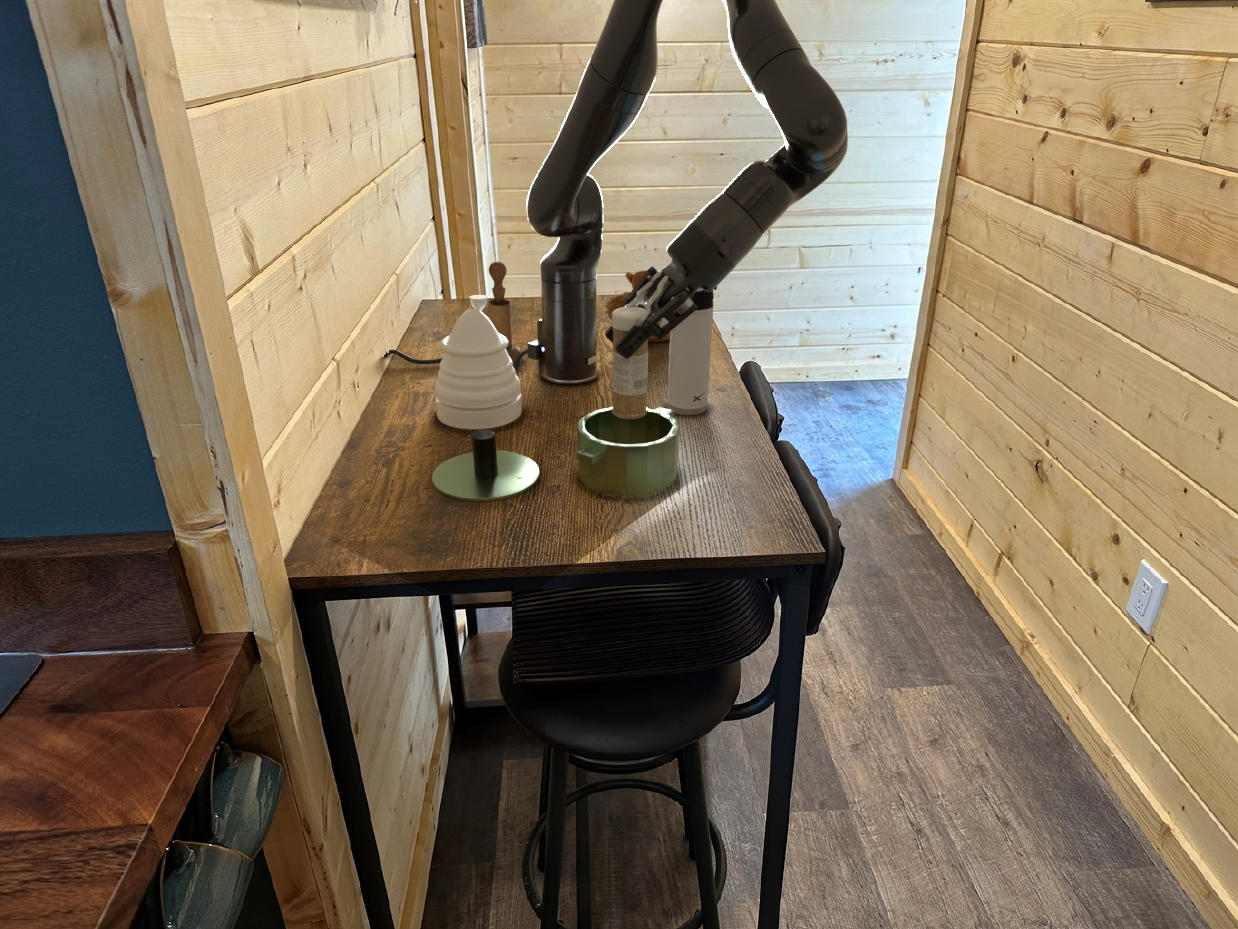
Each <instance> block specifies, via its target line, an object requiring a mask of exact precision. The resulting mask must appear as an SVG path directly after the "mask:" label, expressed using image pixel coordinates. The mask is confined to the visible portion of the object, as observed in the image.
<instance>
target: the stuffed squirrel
mask: <svg viewBox="0 0 1238 929" xmlns="http://www.w3.org/2000/svg"><path fill="white" fill-rule="evenodd" d="M647 270H648V269H641V270H637V271H635V272H634V273H631V272H626V273H625V276H624V277H625V278H626V279H627V281H628V282H629V284H631V287H632V290H633V289H634V287H635V286H636V285H637V283H638V282H639V281H640V280H641V278H642V277H643V276H644V274H645V273H646V272H647ZM630 292H631V291H626V292H623V293H621V294H618V295H616V296H613V297H611V298H609V299H610V300H609V301H607V302H606V304H605V305H604V307H605V308H606V309H607V310H606V311H605V312H604V314H607V315H608V318H609V319H610V320H611V321H612V312H613V311H614V310H616V309H618V308H622V307H625V306H626V305H625V304H624V300H625V299H626V298H627V296H628V295H629V294H630ZM636 297H637V296H636ZM636 297H635V298H636ZM645 309H646V308H645ZM652 316H653V315H652ZM652 316H651V317H652ZM665 325H666V324H664V325H663V326H662V327H664V326H665ZM668 340H669V341H670V332H669V333H668V334H666V335H665V336H664V337H663V338H662V339H657V338H656V337H654V338H652V339H650V338H648V343H659V342H666V341H668Z"/></svg>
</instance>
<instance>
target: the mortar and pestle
mask: <svg viewBox="0 0 1238 929" xmlns="http://www.w3.org/2000/svg"><path fill="white" fill-rule="evenodd" d="M507 270H508V269H507V266H506V265H505V264H504V262H502V261H493V262H492V263H491V264H490V265H489V267H488V274H489V275H490V277H491V279H492V281H493V287H492V288H491V291H492V295H493V298H494V299H491V300H489V301H487V303H488V318H489V320H490V321H491V322H492V324H493V325H494V327H495V329H496V330H497V332H498V334H501V335H503V336H505V337H506V338H507V340H508V346H507V348H506V350H507V353H508V355H509V357H510V358H511V360H512V362H513V364H512V365H514V364H515V362H516V359H517V356H518V355H519V354H520V353H521V348H519V346H517V345H516V344H514V343H513V324H512V322H513V321H512V302H511V300H509V299H505V295H506V287H504V284H503V282H504V279H505V278H506V275H507V273H508V272H507ZM521 362H522V360H521V361H520V363H521Z"/></svg>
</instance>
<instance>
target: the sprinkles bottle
mask: <svg viewBox="0 0 1238 929" xmlns="http://www.w3.org/2000/svg"><path fill="white" fill-rule="evenodd" d="M645 311H646V309H643V308H638V307H622V308H618V309H616V310H614V311H613V312H612V320H611V325H612V327H613V343H612V345H613V346H612V368H611V370H612V371H611V372H612V373H611V374H612V376H611V378H612V383H611V384H612V386H611V387H612V406H611V407H612V413H613V414H614V415H615V416H617V417H619V418H622V419H638V418H641V417H643V416H644V415H646V413H647V409H646V408H647V392H648V379H649V378H648V376H649V374H648V373H649V349H648V346H649V342H648V339H647V340H646V341H645V342H644V343H643V345H642V346H641V347H640V348H639V349H638V350H637V351H636V352H635V353H634V354H633V355H632V356H631V357H630V358H629V359H625V358H624V357H623V356H622V355H620V354H619V353H618V352H617V351H616V349H615V345H616V344H617V343H618V342H619V341H620V340H621V339H622V337H623V336H624V335H625V334H626V333H627V332H628V331H629V330H630V329H631V328H632V327H633V326H634V325H636V326H637V322H638V321H639V319H640V318H641V317H642V315H643V314H644V313H645ZM637 327H638V326H637Z"/></svg>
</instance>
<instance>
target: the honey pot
mask: <svg viewBox="0 0 1238 929" xmlns="http://www.w3.org/2000/svg"><path fill="white" fill-rule="evenodd" d="M469 302H470V305H471V306H472V308H468V309H466V310H465V311H464V312H462V313H461V314H460V316H459V317H458V318H457V320H456V322H455V324H454V326H453V328H452V330H451V332H450V334H449V335H447V336H445V337H443V338H442V339H441V340H440V343H439V347H440V350H442V351H443V356H442V358H443V359H442V361H441V363H439V370H438V372H437V379H436V381H435V383H434V388H433V389H434V391H435V392H434V396H435V398H434V399H435V409H436V410H435V411H436V416H437V419H438V421H440V422H441V423H442V424H444V425H446V426H449V427H451V428H457V429H463V430H487V429H494V428H498V427H503V426H505V425H507V424H509V423H512V422H514V421H516V420H517V419H518V418H519V417H520V416H522V410H523V409H522V393H521V391H522V389H521V380H520V378H519V376H517V374H516V372H517V371H516V369H514V367H513V366H512V364H513V362H512V360H511V358H510V357H509V355H508V353H507V350H506V348H507V346H508V340H507V338H506V337H505V336H503V335H501V334H498V332H497V330H496V329H495V327H494V325H493V324H492V322H491V321H490V320H489V316H487V315H486V314H485V313H484V312H483V310H484V309H485V307H486V306H487V303H488V296H487V295H486V294H473V295H470V296H469Z"/></svg>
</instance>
